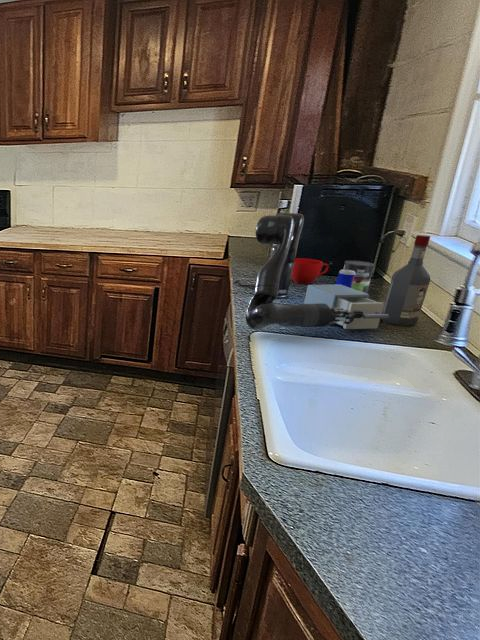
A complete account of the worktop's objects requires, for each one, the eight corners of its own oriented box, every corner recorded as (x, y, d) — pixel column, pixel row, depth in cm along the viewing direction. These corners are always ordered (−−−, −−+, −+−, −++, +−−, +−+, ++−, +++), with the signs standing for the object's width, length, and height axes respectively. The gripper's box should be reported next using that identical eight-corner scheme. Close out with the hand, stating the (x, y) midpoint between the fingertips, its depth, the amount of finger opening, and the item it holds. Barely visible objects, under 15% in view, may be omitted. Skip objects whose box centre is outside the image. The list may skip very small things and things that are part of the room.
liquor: (376, 319, 188) (400, 234, 177) (392, 316, 192) (417, 233, 181) (403, 327, 181) (430, 238, 170) (419, 324, 184) (447, 237, 173)
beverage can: (347, 312, 197) (358, 272, 192) (332, 311, 198) (342, 271, 193) (342, 308, 202) (352, 269, 196) (327, 307, 203) (337, 268, 197)
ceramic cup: (332, 286, 235) (338, 264, 231) (294, 285, 235) (299, 263, 232) (317, 279, 247) (322, 258, 243) (280, 279, 247) (285, 258, 244)
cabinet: (361, 323, 184) (369, 294, 180) (327, 324, 183) (334, 294, 179) (333, 312, 197) (340, 284, 193) (301, 312, 196) (307, 284, 192)
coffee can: (368, 301, 212) (377, 266, 207) (338, 298, 216) (347, 264, 210) (362, 295, 221) (371, 261, 216) (334, 292, 225) (342, 259, 219)
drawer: (388, 333, 172) (396, 307, 168) (355, 334, 171) (363, 307, 167) (349, 316, 189) (355, 292, 185) (319, 317, 188) (324, 293, 184)
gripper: (326, 309, 162) (379, 308, 163) (300, 298, 174) (349, 297, 175) (321, 333, 164) (373, 331, 166) (295, 320, 177) (343, 319, 178)
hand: (360, 314), depth 171 cm, fingers closed
